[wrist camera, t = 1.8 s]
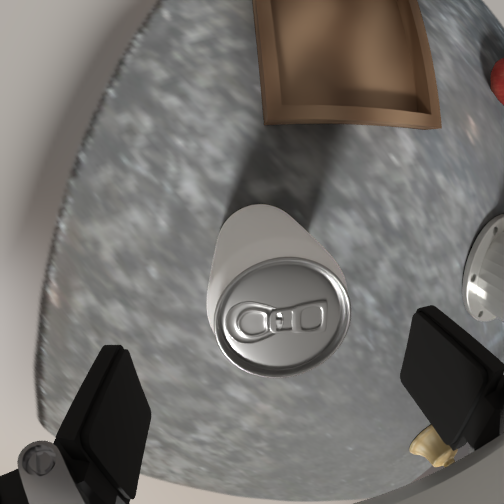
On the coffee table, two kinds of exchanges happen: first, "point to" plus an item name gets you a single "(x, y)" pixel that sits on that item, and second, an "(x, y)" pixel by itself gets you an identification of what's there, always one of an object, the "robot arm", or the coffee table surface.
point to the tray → (345, 63)
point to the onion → (498, 80)
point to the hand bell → (433, 448)
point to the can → (275, 295)
